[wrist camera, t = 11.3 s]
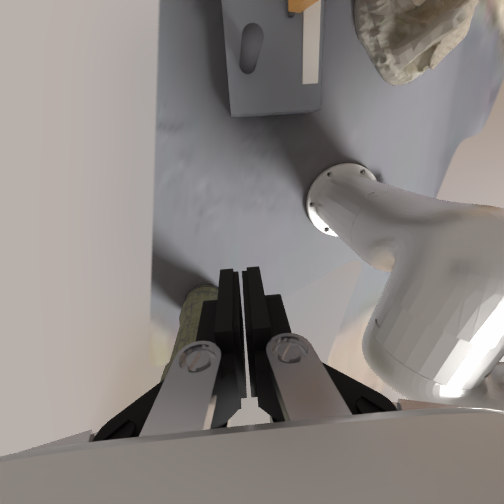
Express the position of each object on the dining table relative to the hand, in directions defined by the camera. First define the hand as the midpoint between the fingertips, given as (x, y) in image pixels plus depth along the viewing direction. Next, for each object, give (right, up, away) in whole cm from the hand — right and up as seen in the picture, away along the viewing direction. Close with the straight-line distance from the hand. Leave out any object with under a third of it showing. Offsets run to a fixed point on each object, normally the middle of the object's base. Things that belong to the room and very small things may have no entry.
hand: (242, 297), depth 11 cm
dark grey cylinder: (0, +25, +21) cm, 33 cm away
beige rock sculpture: (+22, +36, +25) cm, 49 cm away
